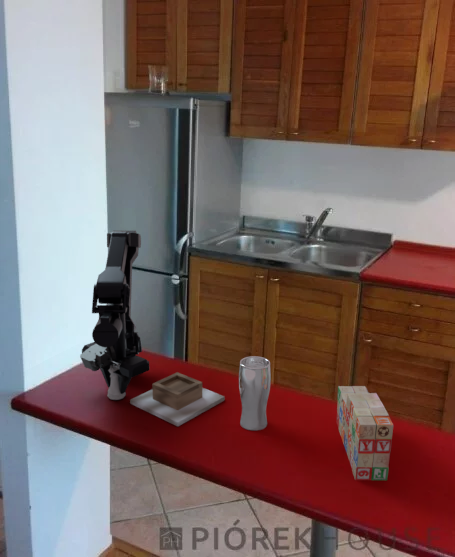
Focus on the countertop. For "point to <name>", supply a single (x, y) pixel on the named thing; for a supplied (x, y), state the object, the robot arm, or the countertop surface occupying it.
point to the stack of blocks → (364, 432)
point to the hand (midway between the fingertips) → (116, 390)
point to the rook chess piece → (114, 385)
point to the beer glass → (254, 391)
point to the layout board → (182, 412)
